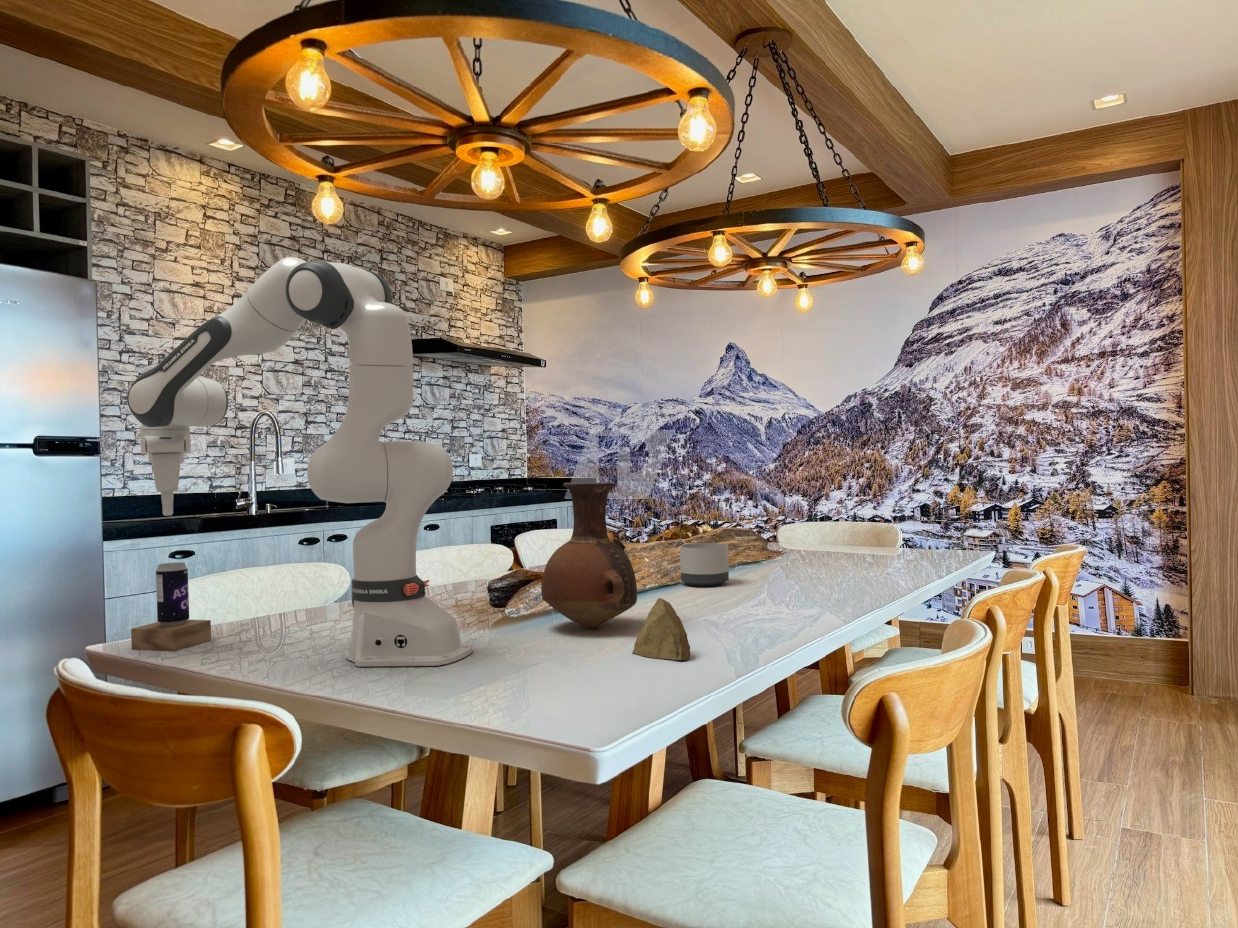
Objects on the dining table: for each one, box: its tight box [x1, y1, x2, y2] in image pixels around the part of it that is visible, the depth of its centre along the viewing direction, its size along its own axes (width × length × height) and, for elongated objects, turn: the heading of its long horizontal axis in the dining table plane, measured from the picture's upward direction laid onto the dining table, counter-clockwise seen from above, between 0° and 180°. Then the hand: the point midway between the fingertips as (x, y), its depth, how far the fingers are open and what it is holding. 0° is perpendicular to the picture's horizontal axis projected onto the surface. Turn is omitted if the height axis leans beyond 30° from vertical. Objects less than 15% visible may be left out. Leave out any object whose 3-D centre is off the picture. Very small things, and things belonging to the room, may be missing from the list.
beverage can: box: [155, 561, 190, 626], centre depth 174 cm, size 6×6×12 cm
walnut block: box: [130, 619, 212, 652], centre depth 174 cm, size 10×10×4 cm
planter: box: [679, 542, 730, 588], centre depth 234 cm, size 13×13×10 cm
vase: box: [540, 482, 638, 630], centre depth 180 cm, size 25×20×30 cm
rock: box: [631, 597, 691, 661], centre depth 152 cm, size 11×9×10 cm
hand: (168, 514), depth 174 cm, fingers open, 8 cm apart
